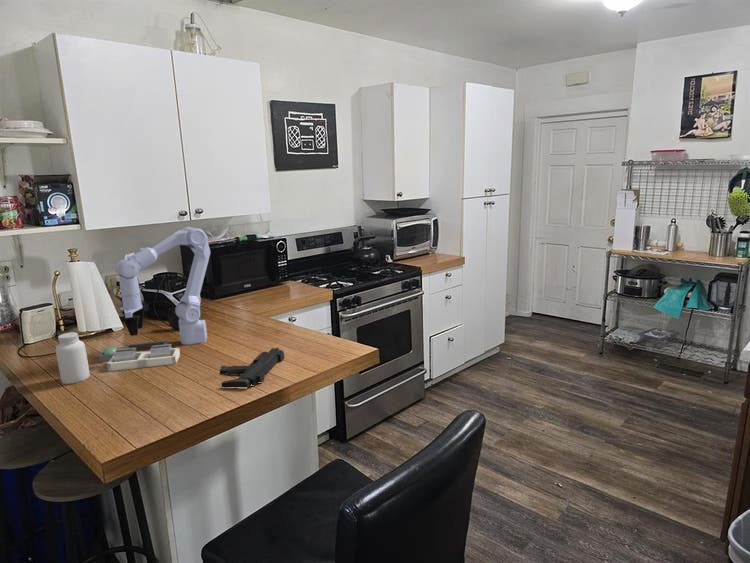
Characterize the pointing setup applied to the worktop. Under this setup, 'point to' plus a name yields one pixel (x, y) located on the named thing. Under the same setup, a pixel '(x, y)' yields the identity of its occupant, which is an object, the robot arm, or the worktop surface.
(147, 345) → the tote
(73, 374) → the pill bottle
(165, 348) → the seated billet
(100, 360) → the button housing
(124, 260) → the robot arm
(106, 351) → the button
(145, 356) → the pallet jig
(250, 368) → the firearm
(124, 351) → the block
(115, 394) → the worktop surface
